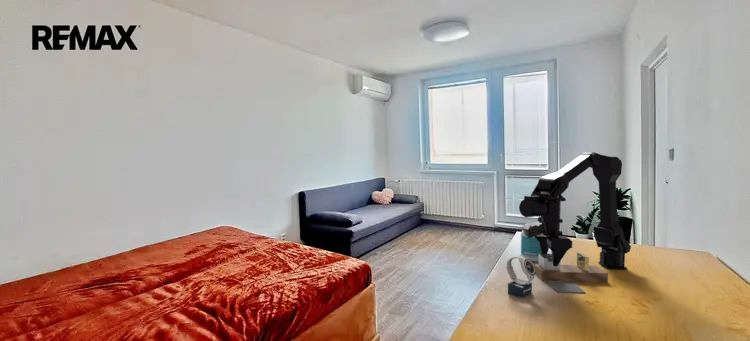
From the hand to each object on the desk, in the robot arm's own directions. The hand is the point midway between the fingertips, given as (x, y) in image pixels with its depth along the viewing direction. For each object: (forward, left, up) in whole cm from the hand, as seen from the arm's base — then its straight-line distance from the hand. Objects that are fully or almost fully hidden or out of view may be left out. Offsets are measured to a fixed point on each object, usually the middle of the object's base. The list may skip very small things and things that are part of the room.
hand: (549, 261), depth 111 cm
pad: (-1, +9, -5) cm, 10 cm away
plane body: (-6, 0, -5) cm, 8 cm away
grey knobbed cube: (0, 0, -2) cm, 2 cm away
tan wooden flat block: (-10, 0, -2) cm, 11 cm away
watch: (+14, +14, -5) cm, 20 cm away
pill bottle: (0, -18, -5) cm, 19 cm away
